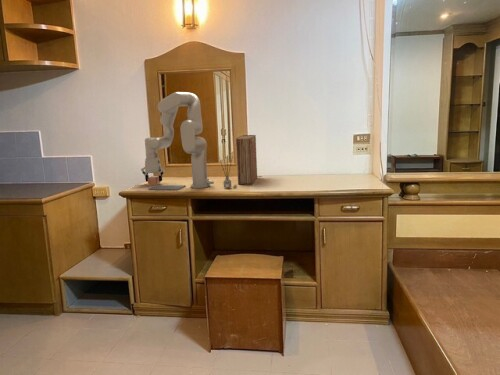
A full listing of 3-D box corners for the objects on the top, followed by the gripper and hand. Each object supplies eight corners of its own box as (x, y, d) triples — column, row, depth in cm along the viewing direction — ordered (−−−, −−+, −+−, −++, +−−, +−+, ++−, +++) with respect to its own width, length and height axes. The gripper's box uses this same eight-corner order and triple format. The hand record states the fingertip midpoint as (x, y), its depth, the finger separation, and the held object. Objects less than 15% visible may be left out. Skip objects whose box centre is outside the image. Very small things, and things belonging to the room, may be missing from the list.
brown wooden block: (252, 184, 249) (250, 137, 244) (237, 184, 251) (235, 137, 245) (257, 177, 274) (255, 134, 268) (244, 178, 275) (242, 135, 270)
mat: (185, 186, 252) (185, 185, 252) (178, 190, 240) (178, 189, 240) (156, 186, 256) (156, 185, 256) (148, 190, 245) (148, 189, 245)
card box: (160, 183, 269) (159, 176, 268) (156, 185, 261) (155, 178, 260) (152, 183, 270) (152, 176, 269) (148, 185, 262) (147, 178, 261)
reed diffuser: (220, 189, 238) (218, 156, 235) (221, 187, 245) (219, 155, 241) (236, 188, 238) (235, 155, 235) (237, 186, 245) (235, 154, 241)
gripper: (166, 155, 264) (168, 180, 267) (142, 155, 267) (144, 180, 271) (161, 156, 256) (163, 182, 260) (137, 156, 260) (139, 182, 264)
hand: (154, 181), depth 265 cm, fingers open, 9 cm apart
